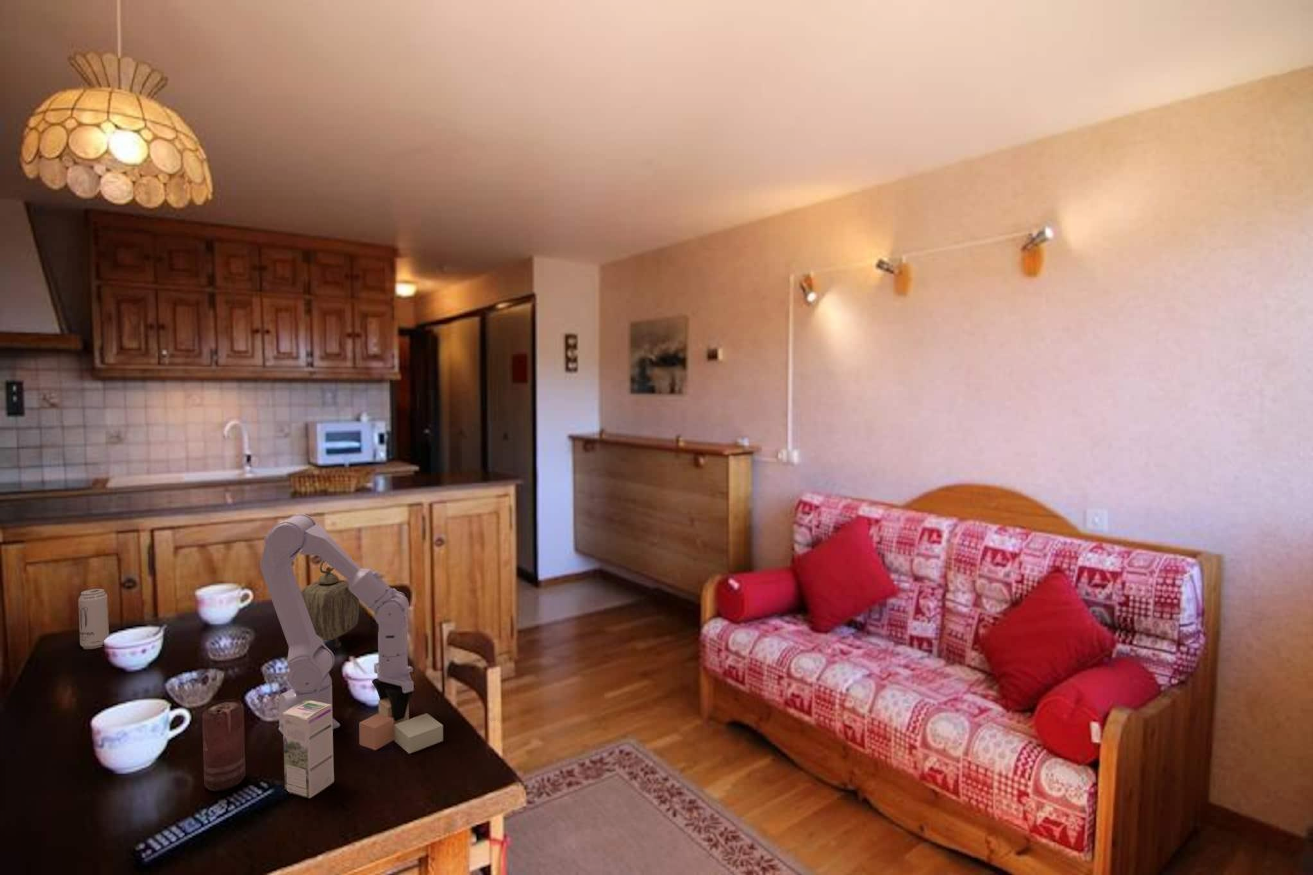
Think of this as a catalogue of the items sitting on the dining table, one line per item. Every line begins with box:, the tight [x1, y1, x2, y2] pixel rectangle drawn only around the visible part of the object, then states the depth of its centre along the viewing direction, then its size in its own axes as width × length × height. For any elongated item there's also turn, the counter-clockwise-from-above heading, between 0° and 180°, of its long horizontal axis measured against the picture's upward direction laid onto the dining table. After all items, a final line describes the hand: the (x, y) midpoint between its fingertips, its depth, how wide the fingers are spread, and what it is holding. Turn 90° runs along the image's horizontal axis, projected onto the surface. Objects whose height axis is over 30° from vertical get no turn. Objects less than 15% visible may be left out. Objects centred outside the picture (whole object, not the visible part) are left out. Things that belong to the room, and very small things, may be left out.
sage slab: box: [393, 712, 444, 754], centre depth 134 cm, size 7×7×4 cm
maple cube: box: [377, 697, 410, 724], centre depth 141 cm, size 4×4×4 cm
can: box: [201, 698, 246, 792], centre depth 118 cm, size 6×6×14 cm
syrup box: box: [282, 700, 335, 799], centre depth 117 cm, size 6×6×14 cm
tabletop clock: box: [300, 559, 360, 649], centre depth 181 cm, size 14×9×25 cm, turn 172°
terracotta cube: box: [358, 712, 394, 751], centre depth 133 cm, size 4×4×4 cm
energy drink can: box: [77, 588, 110, 650], centre depth 181 cm, size 6×6×15 cm
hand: (393, 714), depth 141 cm, fingers closed on maple cube, 4 cm apart
